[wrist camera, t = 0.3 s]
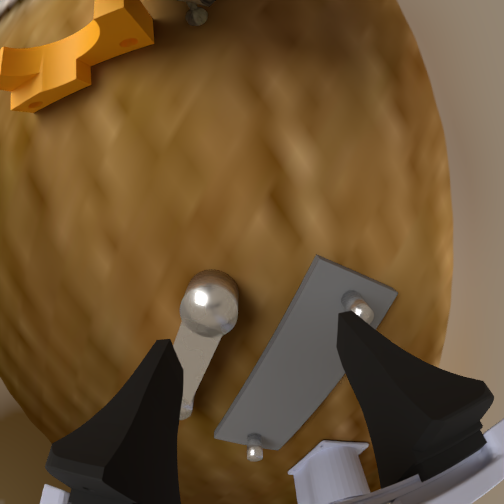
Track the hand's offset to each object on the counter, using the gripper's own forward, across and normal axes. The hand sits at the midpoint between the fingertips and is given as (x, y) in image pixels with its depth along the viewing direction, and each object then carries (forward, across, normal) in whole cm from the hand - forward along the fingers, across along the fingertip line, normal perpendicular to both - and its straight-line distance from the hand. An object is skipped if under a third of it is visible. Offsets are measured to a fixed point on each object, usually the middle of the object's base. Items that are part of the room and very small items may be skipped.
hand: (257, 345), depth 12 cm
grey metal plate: (+8, -3, +13) cm, 16 cm away
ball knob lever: (+10, +6, +8) cm, 14 cm away
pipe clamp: (+13, +10, -17) cm, 24 cm away
